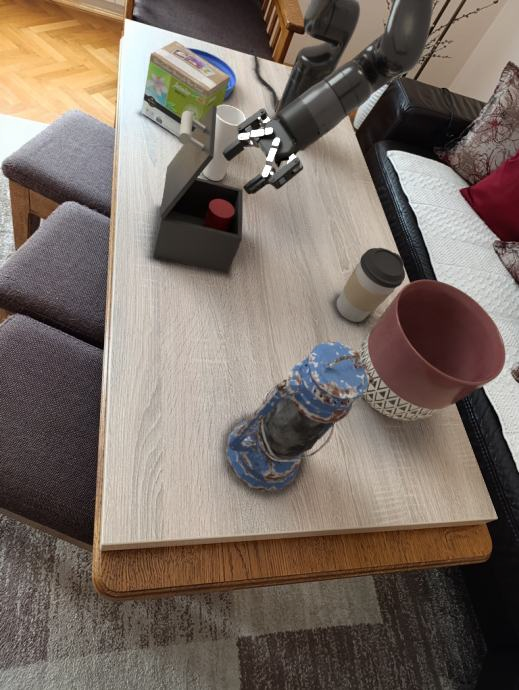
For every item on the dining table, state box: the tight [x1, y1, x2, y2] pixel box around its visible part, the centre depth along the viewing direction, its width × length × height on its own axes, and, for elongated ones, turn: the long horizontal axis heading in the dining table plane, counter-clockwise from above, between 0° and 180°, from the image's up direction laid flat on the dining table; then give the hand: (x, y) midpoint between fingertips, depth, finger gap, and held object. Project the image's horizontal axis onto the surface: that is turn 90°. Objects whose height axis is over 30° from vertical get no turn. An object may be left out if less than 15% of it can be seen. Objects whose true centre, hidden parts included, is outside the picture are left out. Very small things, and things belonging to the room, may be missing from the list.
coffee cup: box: [336, 247, 406, 323], centre depth 98 cm, size 9×9×15 cm
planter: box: [357, 279, 506, 422], centre depth 86 cm, size 20×20×21 cm
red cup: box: [202, 199, 235, 232], centre depth 98 cm, size 5×5×8 cm
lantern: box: [225, 340, 374, 493], centre depth 68 cm, size 15×12×30 cm
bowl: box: [186, 47, 237, 100], centre depth 131 cm, size 18×18×4 cm
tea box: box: [141, 40, 230, 138], centre depth 113 cm, size 15×10×15 cm, turn 62°
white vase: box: [201, 104, 247, 182], centre depth 107 cm, size 7×7×15 cm
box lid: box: [159, 105, 217, 219], centre depth 84 cm, size 15×14×5 cm
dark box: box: [152, 177, 244, 274], centre depth 96 cm, size 15×14×10 cm
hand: (235, 174), depth 89 cm, fingers open, 8 cm apart
